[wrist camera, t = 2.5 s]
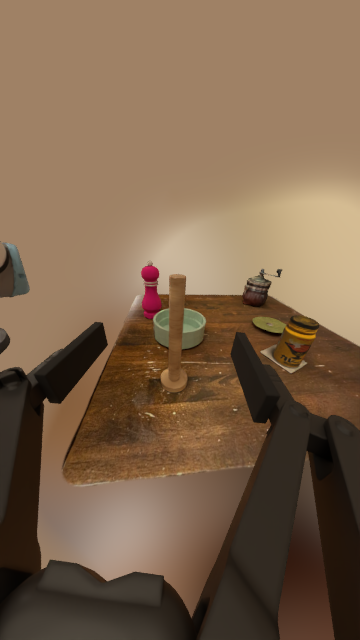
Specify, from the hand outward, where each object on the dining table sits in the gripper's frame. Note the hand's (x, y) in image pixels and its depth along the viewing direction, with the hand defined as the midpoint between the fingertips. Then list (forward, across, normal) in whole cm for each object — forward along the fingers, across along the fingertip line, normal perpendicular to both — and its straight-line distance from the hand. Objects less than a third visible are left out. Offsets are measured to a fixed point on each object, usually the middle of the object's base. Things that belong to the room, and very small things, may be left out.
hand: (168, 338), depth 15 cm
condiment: (+20, +28, -18) cm, 39 cm away
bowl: (+27, 0, -18) cm, 33 cm away
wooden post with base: (+10, 0, -18) cm, 20 cm away
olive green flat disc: (+36, +31, -18) cm, 51 cm away
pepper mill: (+40, -12, -18) cm, 45 cm away
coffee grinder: (+59, +35, -18) cm, 71 cm away
